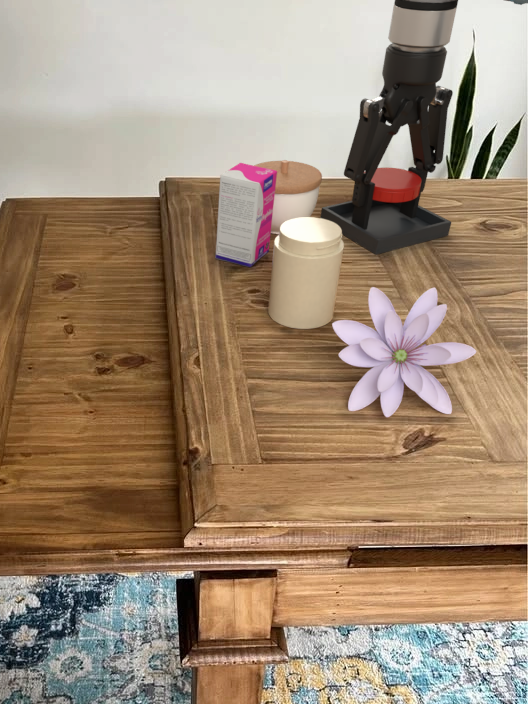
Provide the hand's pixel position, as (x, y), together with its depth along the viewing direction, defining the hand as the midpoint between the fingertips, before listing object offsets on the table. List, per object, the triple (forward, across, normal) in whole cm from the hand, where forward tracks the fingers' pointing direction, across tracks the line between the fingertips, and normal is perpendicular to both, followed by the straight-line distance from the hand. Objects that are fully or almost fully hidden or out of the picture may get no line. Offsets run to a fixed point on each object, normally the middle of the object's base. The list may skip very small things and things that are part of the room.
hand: (383, 220), depth 108 cm
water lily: (+1, +27, +34) cm, 44 cm away
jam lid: (-6, 0, 0) cm, 6 cm away
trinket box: (+1, +13, -8) cm, 15 cm away
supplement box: (+1, +23, -2) cm, 23 cm away
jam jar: (+1, +25, +15) cm, 29 cm away
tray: (+1, 0, 0) cm, 1 cm away
